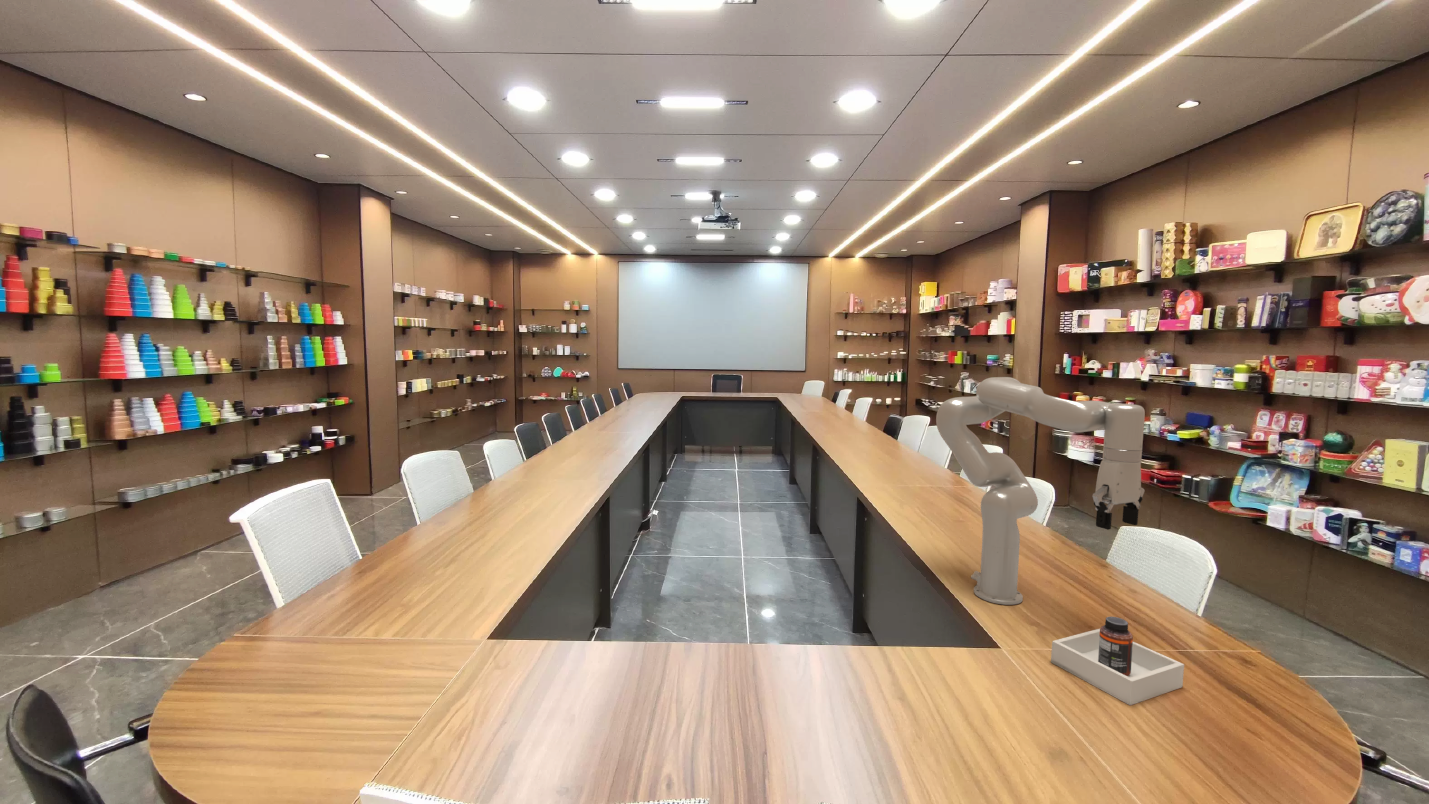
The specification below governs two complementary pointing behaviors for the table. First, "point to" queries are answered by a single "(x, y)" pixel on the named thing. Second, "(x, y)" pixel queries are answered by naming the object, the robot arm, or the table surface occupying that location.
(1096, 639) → the tray
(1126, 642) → the supplement bottle
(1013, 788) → the table surface
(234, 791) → the table surface
